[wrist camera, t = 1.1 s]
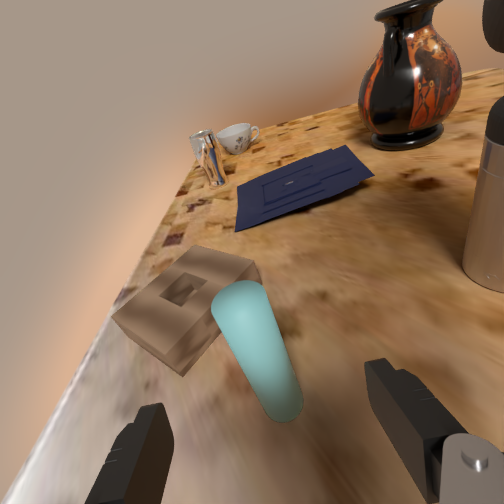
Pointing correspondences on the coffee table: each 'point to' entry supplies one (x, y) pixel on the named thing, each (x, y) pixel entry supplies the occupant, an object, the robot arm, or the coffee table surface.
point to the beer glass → (209, 157)
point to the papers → (298, 185)
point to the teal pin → (258, 347)
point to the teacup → (237, 137)
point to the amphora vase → (409, 79)
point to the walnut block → (183, 306)
